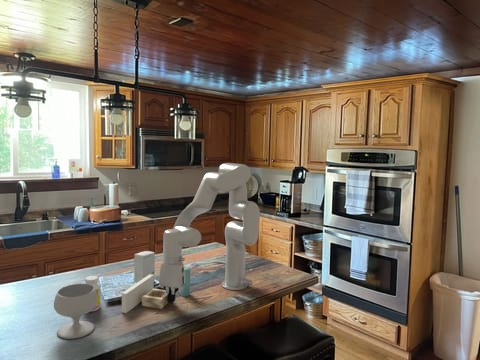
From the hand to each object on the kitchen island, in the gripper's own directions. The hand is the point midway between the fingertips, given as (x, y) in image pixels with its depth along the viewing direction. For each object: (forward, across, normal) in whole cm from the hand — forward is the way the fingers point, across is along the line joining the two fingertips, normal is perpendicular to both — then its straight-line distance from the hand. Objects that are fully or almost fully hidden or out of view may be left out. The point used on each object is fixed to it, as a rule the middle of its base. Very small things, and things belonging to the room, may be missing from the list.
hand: (171, 302), depth 147 cm
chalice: (+2, +23, +29) cm, 37 cm away
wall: (+2, +15, +1) cm, 15 cm away
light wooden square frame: (+2, +7, 0) cm, 7 cm away
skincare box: (+2, +23, -18) cm, 29 cm away
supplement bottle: (+2, +29, +13) cm, 32 cm away
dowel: (+2, -1, -12) cm, 12 cm away
